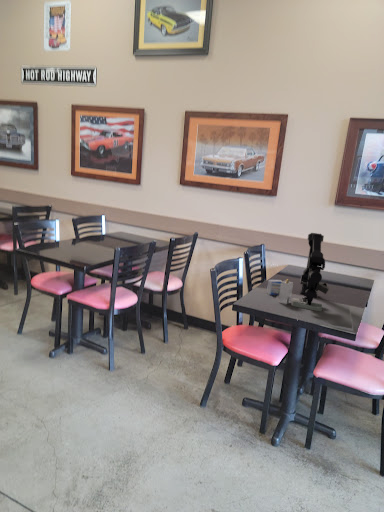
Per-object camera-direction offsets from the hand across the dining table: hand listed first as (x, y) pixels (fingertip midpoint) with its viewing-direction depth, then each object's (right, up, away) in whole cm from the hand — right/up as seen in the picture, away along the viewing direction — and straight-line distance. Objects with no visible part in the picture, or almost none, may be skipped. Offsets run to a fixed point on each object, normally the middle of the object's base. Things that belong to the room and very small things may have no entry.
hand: (309, 305), depth 205 cm
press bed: (-4, -1, +7) cm, 8 cm away
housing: (-13, +1, +4) cm, 14 cm away
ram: (-5, 0, +2) cm, 6 cm away
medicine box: (-15, +4, +23) cm, 27 cm away
